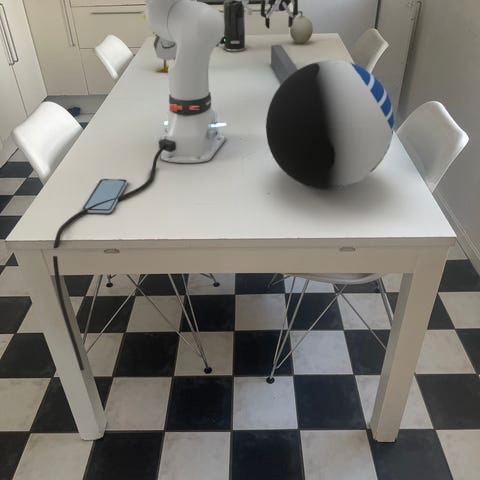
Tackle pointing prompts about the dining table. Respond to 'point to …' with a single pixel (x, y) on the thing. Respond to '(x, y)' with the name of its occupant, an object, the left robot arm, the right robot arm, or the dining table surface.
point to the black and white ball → (329, 124)
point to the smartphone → (105, 195)
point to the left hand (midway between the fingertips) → (262, 12)
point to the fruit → (301, 29)
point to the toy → (164, 49)
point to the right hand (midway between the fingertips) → (278, 27)
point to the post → (281, 63)
